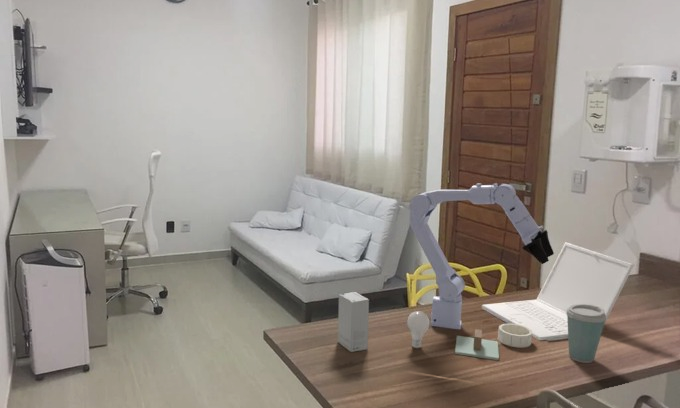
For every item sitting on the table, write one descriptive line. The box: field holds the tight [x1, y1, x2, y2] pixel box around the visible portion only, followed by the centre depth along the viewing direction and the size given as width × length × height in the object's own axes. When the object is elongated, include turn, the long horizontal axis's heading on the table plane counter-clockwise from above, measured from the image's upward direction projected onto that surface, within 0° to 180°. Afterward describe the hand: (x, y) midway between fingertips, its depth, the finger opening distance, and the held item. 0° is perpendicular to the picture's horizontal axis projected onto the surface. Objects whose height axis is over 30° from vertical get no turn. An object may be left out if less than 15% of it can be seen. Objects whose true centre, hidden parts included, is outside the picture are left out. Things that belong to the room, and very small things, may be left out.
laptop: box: [481, 241, 635, 342], centre depth 191 cm, size 30×35×23 cm
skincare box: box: [337, 291, 370, 353], centre depth 162 cm, size 8×6×15 cm
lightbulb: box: [406, 310, 431, 349], centre depth 163 cm, size 6×6×11 cm
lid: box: [454, 328, 500, 361], centre depth 164 cm, size 12×12×5 cm
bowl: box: [497, 323, 533, 348], centre depth 172 cm, size 10×10×4 cm
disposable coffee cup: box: [566, 304, 607, 364], centre depth 162 cm, size 11×11×15 cm
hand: (548, 258), depth 167 cm, fingers open, 7 cm apart
